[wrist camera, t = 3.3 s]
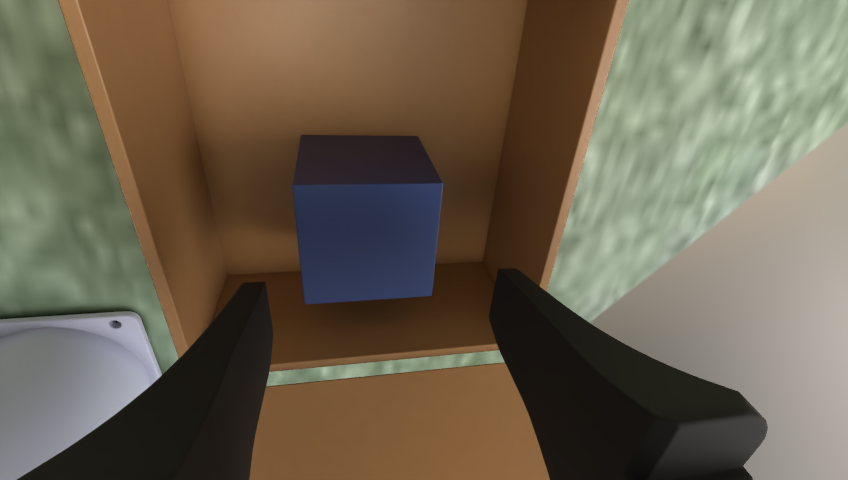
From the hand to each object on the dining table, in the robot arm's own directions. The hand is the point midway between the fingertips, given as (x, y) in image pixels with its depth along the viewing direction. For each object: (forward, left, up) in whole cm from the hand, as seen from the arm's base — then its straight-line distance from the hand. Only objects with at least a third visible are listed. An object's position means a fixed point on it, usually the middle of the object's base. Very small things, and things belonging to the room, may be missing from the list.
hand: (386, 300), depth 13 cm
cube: (0, 0, -8) cm, 8 cm away
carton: (0, +2, -8) cm, 8 cm away
